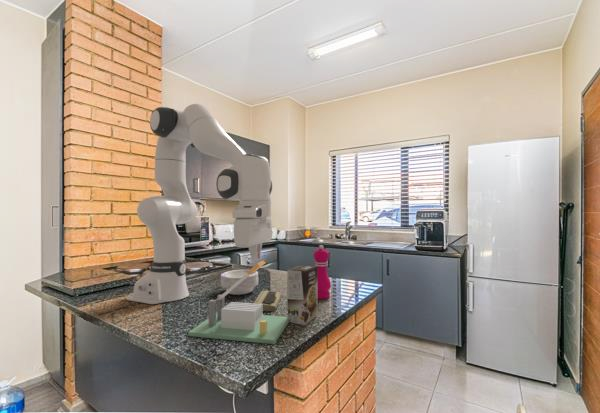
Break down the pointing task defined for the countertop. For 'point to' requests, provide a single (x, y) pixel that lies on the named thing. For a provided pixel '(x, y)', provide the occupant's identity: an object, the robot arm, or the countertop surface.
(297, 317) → the coffee box
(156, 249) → the robot arm
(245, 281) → the paper bowls
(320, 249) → the pepper mill
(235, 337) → the heatsink board
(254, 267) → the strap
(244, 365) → the countertop surface
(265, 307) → the computer
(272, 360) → the countertop surface
